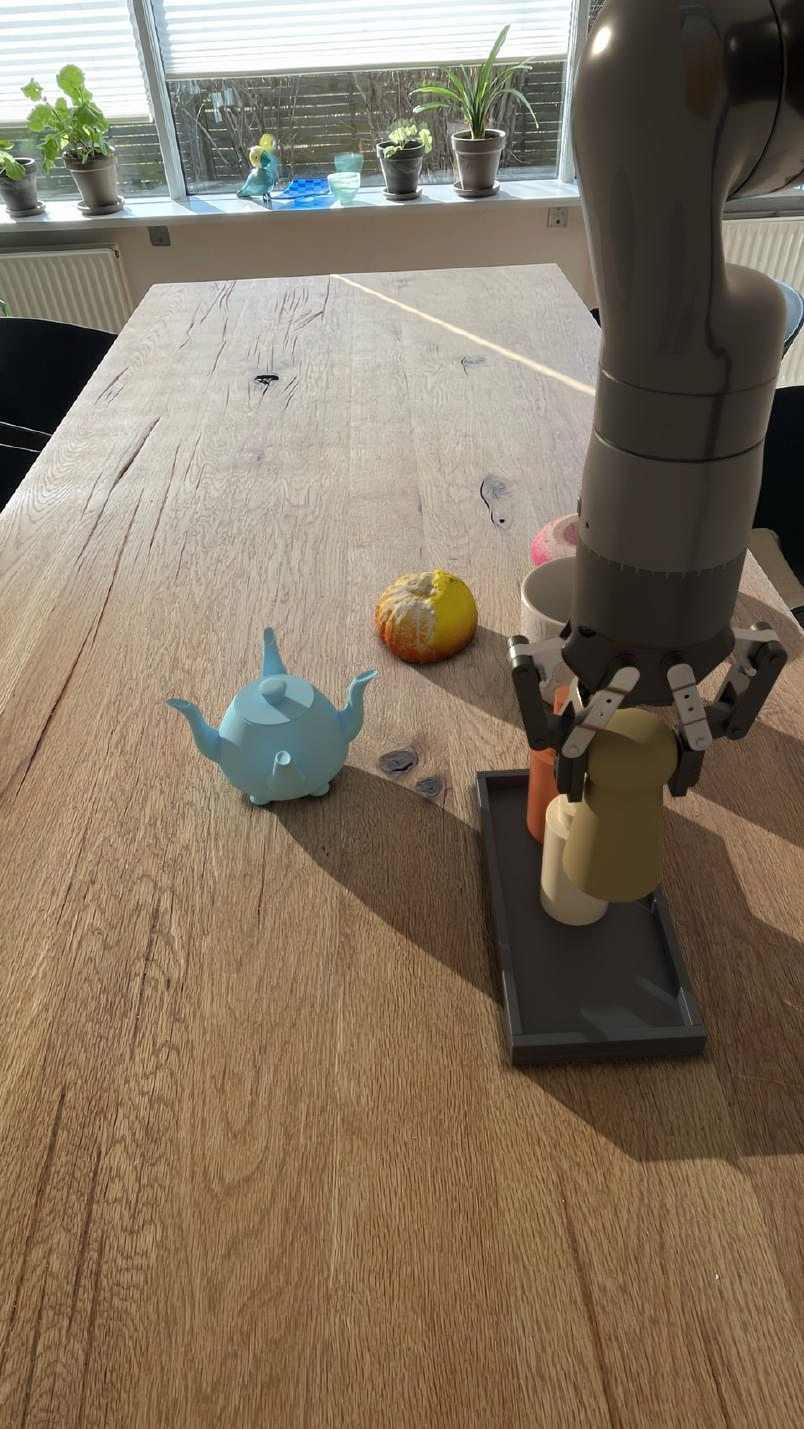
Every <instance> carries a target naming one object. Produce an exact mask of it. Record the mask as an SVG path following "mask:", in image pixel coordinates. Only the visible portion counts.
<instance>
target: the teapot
mask: <svg viewBox="0 0 804 1429" xmlns="http://www.w3.org/2000/svg"><path fill="white" fill-rule="evenodd" d="M262 652H263V653H262V663H261V664H262V665H261V674H260V677H258V678H256V679H254V680H252V681H250V682H248V683H247V684H246V685H244V686H243V687H242V688H241V689H240V690H239V691H238V692H237V693H236V695H234V698H233V700H232V701H231V703H230V704H229V706H228V708H227V710H226V711H225V713H224V716H223V718H222V720H221V722H220V726H219V729H218V728H215V727H212V726H210V725H209V724H208V723H207V722H206V721H205V719H204V716H203V713H202V712H201V710H200V708H199V707H198V706H197V705H196V704H194V703H193V702H192V701H189V700H186V699H182V698H168V699H166V700H165V703H166V705H167V706H170V707H171V708H173V709H175V710H177V711H179V712H180V713H181V714H182V715H183V716H184V717H185V719H186V720H187V723H188V725H189V728H190V732H191V736H192V739H193V742H194V744H195V746H196V748H197V750H198V751H199V752H200V753H201V755H202V756H204V758H206V759H207V760H209V761H212V762H214V763H215V764H218V767H219V769H220V772H221V773H222V775H223V778H225V780H226V781H227V782H228V783H229V784H230V785H231V786H233V787H234V788H235V789H236V790H238V791H240V792H242V793H244V794H247V795H249V799H250V801H251V803H253V804H254V805H259V806H262V805H263V806H264V805H267V804H269V803H270V802H271V801H289V800H294V799H299V798H303V797H305V796H308V795H311V796H313V797H319V796H323V795H325V794H327V793H328V792H329V790H330V784H329V782H330V781H332V780H333V779H334V778H335V777H336V775H338V774H339V772H340V771H341V770H342V768H343V767H344V764H345V763H346V760H347V758H348V754H349V749H350V743H351V742H353V741H354V740H355V739H356V738H357V736H359V734H360V732H361V731H362V728H363V726H364V721H365V707H364V694H365V690H366V688H367V686H368V684H369V683H370V682H371V680H373V679H374V678H375V677H376V676H377V674H378V670H377V669H370V670H366V671H365V672H362V673H360V674H359V675H357V676H356V677H355V678H353V680H352V682H351V683H350V685H349V689H348V701H347V704H346V705H345V707H344V708H342V709H341V710H338V709H337V708H336V706H335V705H334V703H333V702H332V701H331V700H330V699H329V698H328V697H327V696H326V695H325V694H324V693H323V692H322V691H320V689H318V688H317V687H316V686H315V685H313V684H312V683H310V682H309V681H308V680H306V679H304V678H303V677H300V676H296V675H292V674H288V671H287V669H286V666H285V664H284V663H283V660H282V658H281V654H280V652H279V649H278V642H277V637H276V632H275V630H274V629H273V627H271V626H267V627H265V628H264V629H263V633H262Z"/></svg>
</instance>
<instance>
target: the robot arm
mask: <svg viewBox="0 0 804 1429" xmlns="http://www.w3.org/2000/svg"><path fill="white" fill-rule="evenodd" d="M570 100H571V102H570V113H569V117H570V120H569V122H570V123H569V124H570V144H571V151H572V153H571V154H572V160H573V167H574V172H575V178H576V182H577V188H578V194H579V199H580V205H581V211H582V216H583V224H584V228H585V234H586V240H587V247H588V252H589V261H590V266H591V272H592V278H593V284H594V290H595V296H596V301H597V302H596V303H597V307H598V311H599V312H598V313H599V322H600V330H601V334H600V336H601V337H600V344H599V351H598V361H597V362H598V363H597V371H596V383H595V394H594V405H593V406H594V407H593V418H592V426H591V433H590V438H589V442H588V447H587V451H586V454H585V459H584V464H583V468H582V469H583V470H582V477H581V489H580V492H579V494H578V498H577V504H576V505H577V506H576V513H578V518H579V522H578V534H577V546H576V558H575V570H574V582H573V593H572V605H571V613H570V616H569V619H568V621H567V622H566V624H565V625H564V626H563V628H562V629H561V631H560V633H559V637H556V638H552V639H548V640H543V641H539V642H535V643H529V640H528V638H527V637H525V636H523V635H521V634H516V635H512V636H511V637H509V638H508V639H507V641H506V643H505V650H506V654H507V659H508V664H509V670H510V674H511V678H512V683H513V687H514V692H515V695H516V699H517V703H518V708H519V711H520V715H521V719H522V724H523V728H524V732H525V735H526V740H527V744H528V747H529V749H530V750H531V749H532V750H534V751H543V750H546V749H547V748H553V749H554V761H553V763H554V764H553V774H554V778H555V783H556V787H557V790H558V792H559V794H566V795H567V799H568V803H577V802H582V797H583V788H584V779H585V770H586V761H587V756H586V752H585V749H586V748H587V746H588V745H589V743H590V741H591V740H592V738H593V737H594V735H595V733H596V732H597V731H603V730H604V728H605V727H606V725H607V724H608V722H609V720H610V719H611V717H612V716H613V714H614V713H615V711H616V709H628V708H635V707H639V706H649V707H656V708H662V707H663V708H664V707H665V708H666V707H673V706H674V708H675V711H676V714H677V718H678V724H671V730H672V731H673V733H674V735H675V738H676V741H677V744H678V758H677V764H676V768H675V770H674V772H673V774H672V775H671V777H670V778H669V780H668V781H667V783H666V786H667V788H668V791H669V794H670V796H671V797H672V798H686V796H687V794H688V789H689V788H695V786H696V785H697V784H698V783H699V781H700V778H701V774H702V773H701V772H702V769H703V765H704V764H703V763H704V760H705V754H706V750H708V749H709V748H710V747H711V746H712V744H713V743H714V741H715V740H718V739H721V738H724V737H726V738H727V739H728V740H730V741H740V740H741V739H742V740H743V738H745V737H746V736H747V735H748V734H749V732H750V730H751V728H752V726H753V724H754V723H755V721H756V719H757V718H758V716H759V714H760V712H761V710H762V709H763V706H764V704H765V702H766V700H767V699H768V697H769V695H770V693H771V691H772V690H773V687H774V686H775V684H776V682H777V681H778V678H779V676H780V675H781V673H782V670H783V669H784V667H785V665H786V664H787V662H788V659H789V654H788V653H787V650H786V649H785V647H784V645H783V642H782V641H781V639H780V637H779V636H778V634H777V633H776V631H775V630H774V628H773V626H772V625H771V623H770V622H768V621H764V620H763V621H758V622H755V623H753V624H752V625H750V627H748V628H749V629H748V628H742V627H733V626H731V621H732V618H733V616H734V613H735V607H736V603H737V598H738V594H739V589H740V584H741V580H742V576H743V571H744V567H745V563H746V562H745V561H746V558H747V552H748V548H749V543H750V538H751V534H752V529H753V525H754V520H755V515H756V511H757V507H758V502H759V496H760V492H761V486H762V479H763V464H764V449H765V448H764V447H765V441H766V435H767V434H766V433H767V431H768V425H769V421H770V416H771V412H772V408H773V407H772V406H773V402H774V397H775V394H776V388H777V383H778V380H779V379H778V378H779V375H780V369H781V364H782V359H783V353H784V349H785V343H786V342H785V341H786V336H787V331H788V330H787V329H788V320H789V310H788V309H789V308H788V304H787V300H786V296H785V293H784V291H783V290H782V288H781V287H780V285H779V284H778V283H777V282H776V281H775V280H774V279H772V278H771V277H770V276H769V275H767V274H766V273H764V272H761V271H759V270H757V269H754V268H752V267H748V266H746V265H741V264H736V263H732V262H727V261H726V256H725V249H724V240H723V239H724V238H723V219H724V218H723V216H724V210H725V205H726V204H729V203H734V202H737V201H742V200H747V199H751V198H752V199H753V198H756V197H762V196H765V195H766V196H767V195H770V194H775V193H779V192H784V191H787V190H791V189H794V188H795V189H796V188H798V187H800V186H804V0H606V1H605V2H604V4H603V5H602V7H601V9H600V10H599V12H598V14H597V15H596V17H595V19H594V21H593V23H592V26H591V28H590V30H589V32H588V33H587V37H586V39H585V41H584V45H583V47H582V50H581V53H580V56H579V59H578V62H577V67H576V71H575V75H574V79H573V85H572V93H571V99H570ZM728 657H729V658H730V660H731V662H732V663H731V664H730V666H729V669H728V671H727V672H726V675H725V677H724V678H723V680H722V682H721V685H720V687H719V688H718V690H717V693H716V694H715V697H714V699H713V701H712V703H710V704H707V705H703V701H702V698H701V695H700V692H699V688H698V685H699V684H700V683H701V682H703V681H704V680H705V679H706V678H707V677H708V676H709V675H710V674H711V673H712V672H714V670H716V669H717V667H719V666H720V665H721V664H722V663H723V662H724V661H725V660H726V659H728ZM562 662H565V664H566V665H567V666H568V667H569V668H570V669H571V671H572V672H573V673H574V674H575V677H574V678H573V680H572V682H571V684H570V688H569V695H568V697H567V699H566V701H565V703H564V704H563V706H562V708H561V710H560V711H559V713H558V715H557V714H553V713H552V712H547V711H546V710H545V706H544V700H542V696H541V691H540V688H542V689H543V688H546V687H547V686H548V683H549V682H550V681H551V679H552V678H553V670H554V668H555V667H556V666H557V665H558V664H560V663H562Z"/></svg>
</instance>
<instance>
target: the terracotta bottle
mask: <svg viewBox="0 0 804 1429" xmlns="http://www.w3.org/2000/svg"><path fill="white" fill-rule="evenodd" d="M569 688H570V686H563V687H561V688H559V689H558V690H557V691H556V692H555V699H554V706H553V713H552V714H557V715H558V713H559V711H560V710H561V708H562V706H563V704H564V703H565V701H566V699H567V697H568V695H569ZM553 761H554V749H553V748H547V749H546V750H543V751H534V750H532V749H531V748H530V756H529V768H530V769H529V786H528V803H527V820H526V825H527V829H528V832H529V833H530V835H531V836H532V837H533V838H534V839H535V840H536V841H537V842H539V843H540V844H542V845H544V832H545V820H546V811H547V808H548V806H549V804H550V803H551V802H552V800H553V799H555V798H556V797H557V796H559V795H560V794H559V792H558V790H557V787H556V783H555V778H554V774H553V764H554V763H553Z"/></svg>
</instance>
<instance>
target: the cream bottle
mask: <svg viewBox="0 0 804 1429" xmlns="http://www.w3.org/2000/svg"><path fill="white" fill-rule="evenodd" d="M586 775H587V774H586V773H585V778H586ZM584 781H585V779H584ZM577 805H578V802H577V803H568V799H567V795H566V794H560V795H559V796H557V797H556V798H555V799H553V800H552V802H551V803H550V804H549V806H548V808H547V811H546V820H545V832H544V845H543V858H542V871H541V883H540V901H541V904H542V906H543V908H544V910H545V911H546V912H547V913H548V914H549V915H550V916H551V917H552V918H554V919H555V920H557V921H559V922H561V923H564V924H568V925H573V926H582V925H588V924H591V923H593V922H596V921H597V920H599V919H600V918H601V917H602V916H603V915H604V914H605V913H606V911H607V909H608V906H609V901H604V900H599V899H596V898H594V897H592V896H590V895H587V894H585V893H583V892H582V891H581V890H580V889H578V888H577V887H576V886H575V885H574V884H573V883H571V881H570V879H569V878H568V876H567V875H566V873H565V871H564V867H563V861H562V858H563V853H564V849H565V845H566V842H567V839H568V835H569V832H570V828H571V825H572V822H573V818H574V815H575V812H576V808H577Z"/></svg>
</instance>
